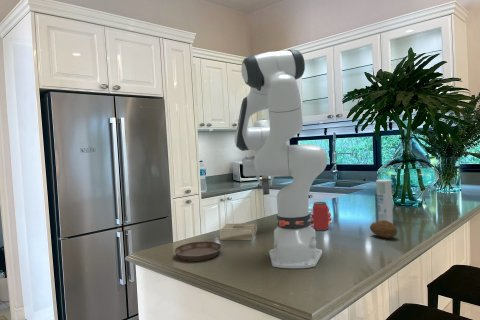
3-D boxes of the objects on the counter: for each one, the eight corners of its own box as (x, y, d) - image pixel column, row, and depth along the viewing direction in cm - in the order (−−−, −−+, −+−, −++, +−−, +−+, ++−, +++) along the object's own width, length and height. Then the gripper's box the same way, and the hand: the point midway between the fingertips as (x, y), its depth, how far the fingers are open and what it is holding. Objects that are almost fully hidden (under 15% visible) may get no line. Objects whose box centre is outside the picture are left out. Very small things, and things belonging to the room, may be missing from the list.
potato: (376, 233, 148) (375, 216, 148) (403, 238, 139) (402, 220, 139) (366, 236, 144) (365, 219, 144) (393, 242, 135) (392, 223, 135)
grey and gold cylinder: (269, 194, 164) (267, 175, 164) (262, 194, 165) (261, 175, 164) (269, 193, 167) (268, 174, 167) (263, 193, 167) (262, 174, 167)
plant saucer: (232, 253, 134) (231, 245, 134) (193, 267, 122) (193, 258, 122) (203, 246, 147) (202, 238, 147) (166, 257, 135) (165, 249, 135)
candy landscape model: (293, 230, 163) (292, 210, 163) (272, 221, 186) (271, 203, 185) (340, 223, 171) (339, 204, 171) (314, 215, 194) (313, 198, 193)
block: (252, 239, 151) (251, 230, 151) (219, 240, 154) (219, 231, 153) (257, 231, 164) (256, 223, 164) (227, 232, 167) (226, 223, 167)
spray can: (396, 224, 161) (394, 180, 161) (384, 225, 160) (382, 181, 159) (386, 221, 168) (384, 179, 167) (375, 223, 166) (372, 180, 165)
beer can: (329, 230, 158) (327, 203, 157) (313, 230, 159) (312, 204, 159) (328, 227, 164) (327, 201, 164) (313, 227, 166) (312, 201, 165)
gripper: (240, 157, 164) (242, 187, 164) (285, 154, 160) (287, 185, 160) (243, 156, 170) (244, 185, 171) (286, 154, 166) (288, 183, 167)
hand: (265, 185), depth 165 cm, fingers closed on grey and gold cylinder, 3 cm apart
